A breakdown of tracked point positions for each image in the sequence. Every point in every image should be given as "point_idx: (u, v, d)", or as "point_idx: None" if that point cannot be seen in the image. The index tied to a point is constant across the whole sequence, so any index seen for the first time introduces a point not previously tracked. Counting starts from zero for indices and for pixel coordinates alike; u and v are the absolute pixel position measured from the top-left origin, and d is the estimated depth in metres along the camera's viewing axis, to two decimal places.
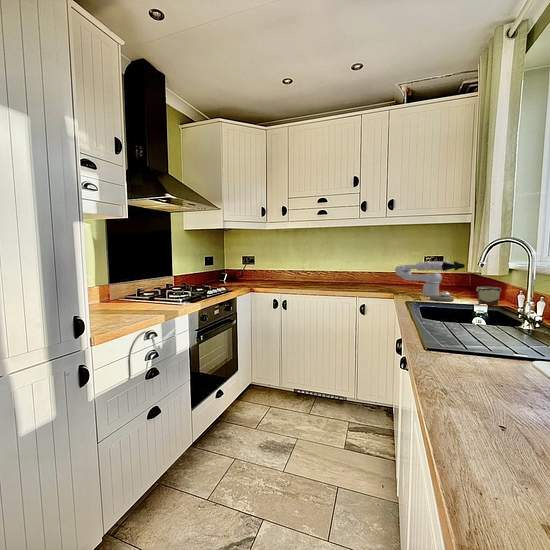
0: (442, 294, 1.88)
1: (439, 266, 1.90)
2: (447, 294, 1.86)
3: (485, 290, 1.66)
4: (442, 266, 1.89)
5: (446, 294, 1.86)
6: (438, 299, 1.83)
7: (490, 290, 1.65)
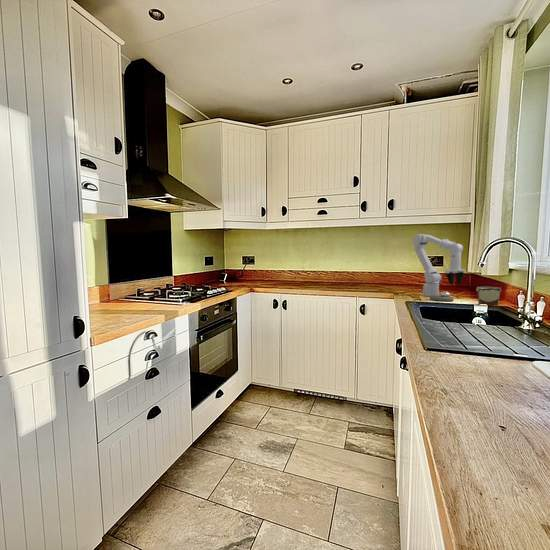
0: (442, 294, 1.88)
1: (446, 271, 1.88)
2: (447, 294, 1.86)
3: (485, 290, 1.66)
4: (448, 273, 1.88)
5: (446, 294, 1.86)
6: (438, 299, 1.83)
7: (490, 290, 1.65)
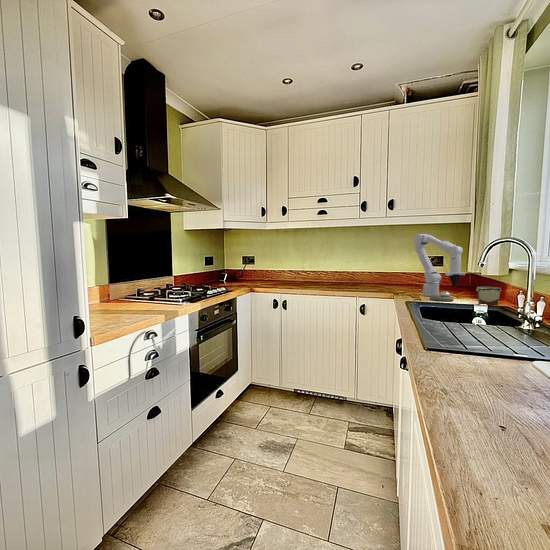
0: (442, 294, 1.88)
1: (446, 274, 1.88)
2: (447, 294, 1.86)
3: (485, 290, 1.66)
4: (452, 276, 1.89)
5: (446, 294, 1.86)
6: (438, 299, 1.83)
7: (490, 290, 1.65)
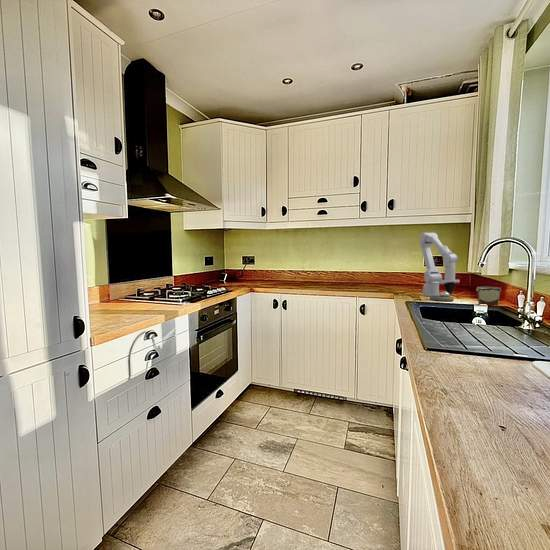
0: (442, 294, 1.88)
1: (440, 282, 1.87)
2: (447, 294, 1.86)
3: (485, 290, 1.66)
4: (446, 284, 1.88)
5: (446, 294, 1.86)
6: (438, 299, 1.83)
7: (490, 290, 1.65)
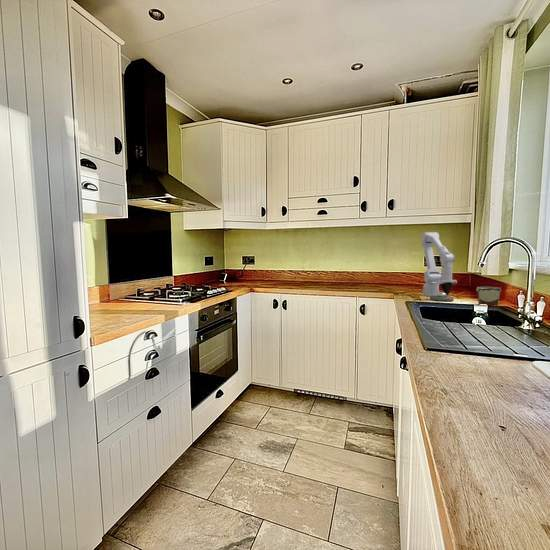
0: (438, 294, 1.87)
1: (437, 282, 1.86)
2: (443, 294, 1.85)
3: (485, 290, 1.66)
4: (443, 284, 1.88)
5: (442, 294, 1.85)
6: (438, 299, 1.83)
7: (490, 290, 1.65)
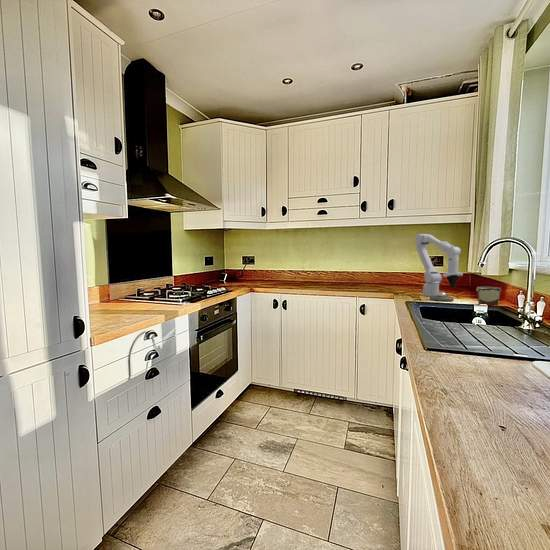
0: (438, 294, 1.87)
1: (444, 275, 1.87)
2: (443, 294, 1.85)
3: (485, 290, 1.66)
4: (449, 276, 1.89)
5: (442, 294, 1.85)
6: (438, 299, 1.83)
7: (490, 290, 1.65)
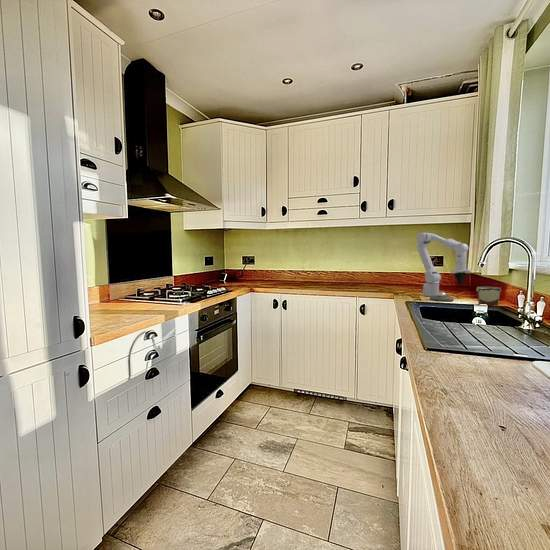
0: (438, 294, 1.87)
1: (452, 272, 1.86)
2: (443, 294, 1.85)
3: (485, 290, 1.66)
4: (457, 273, 1.88)
5: (442, 294, 1.85)
6: (438, 299, 1.83)
7: (490, 290, 1.65)
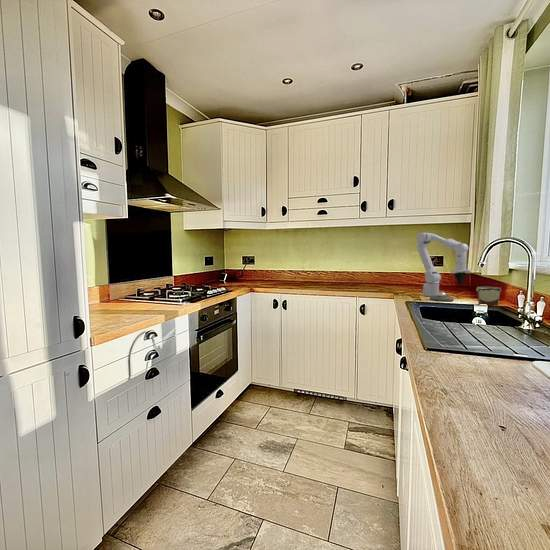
0: (438, 294, 1.87)
1: (452, 272, 1.86)
2: (443, 294, 1.85)
3: (485, 290, 1.66)
4: (457, 273, 1.88)
5: (442, 294, 1.85)
6: (438, 299, 1.83)
7: (490, 290, 1.65)
